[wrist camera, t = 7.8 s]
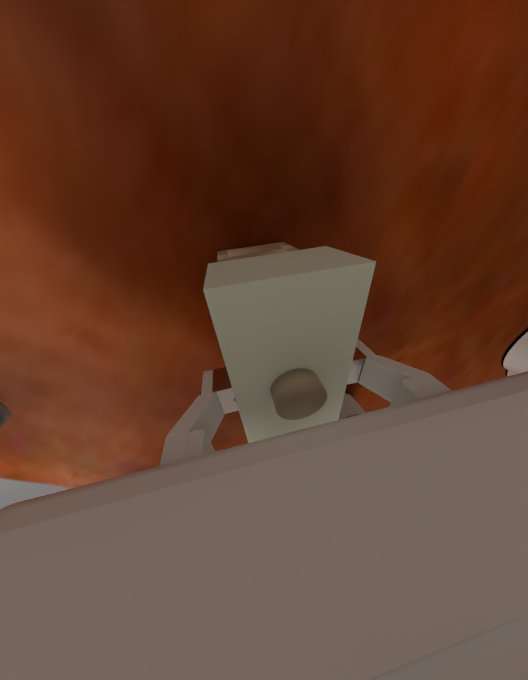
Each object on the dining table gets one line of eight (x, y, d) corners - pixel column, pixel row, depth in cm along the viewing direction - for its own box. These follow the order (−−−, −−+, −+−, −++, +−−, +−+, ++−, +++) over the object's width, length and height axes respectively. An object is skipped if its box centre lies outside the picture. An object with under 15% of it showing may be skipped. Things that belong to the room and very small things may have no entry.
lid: (326, 246, 9) (399, 268, 5) (313, 389, 15) (344, 445, 12) (208, 263, 9) (200, 302, 5) (244, 405, 15) (253, 470, 11)
